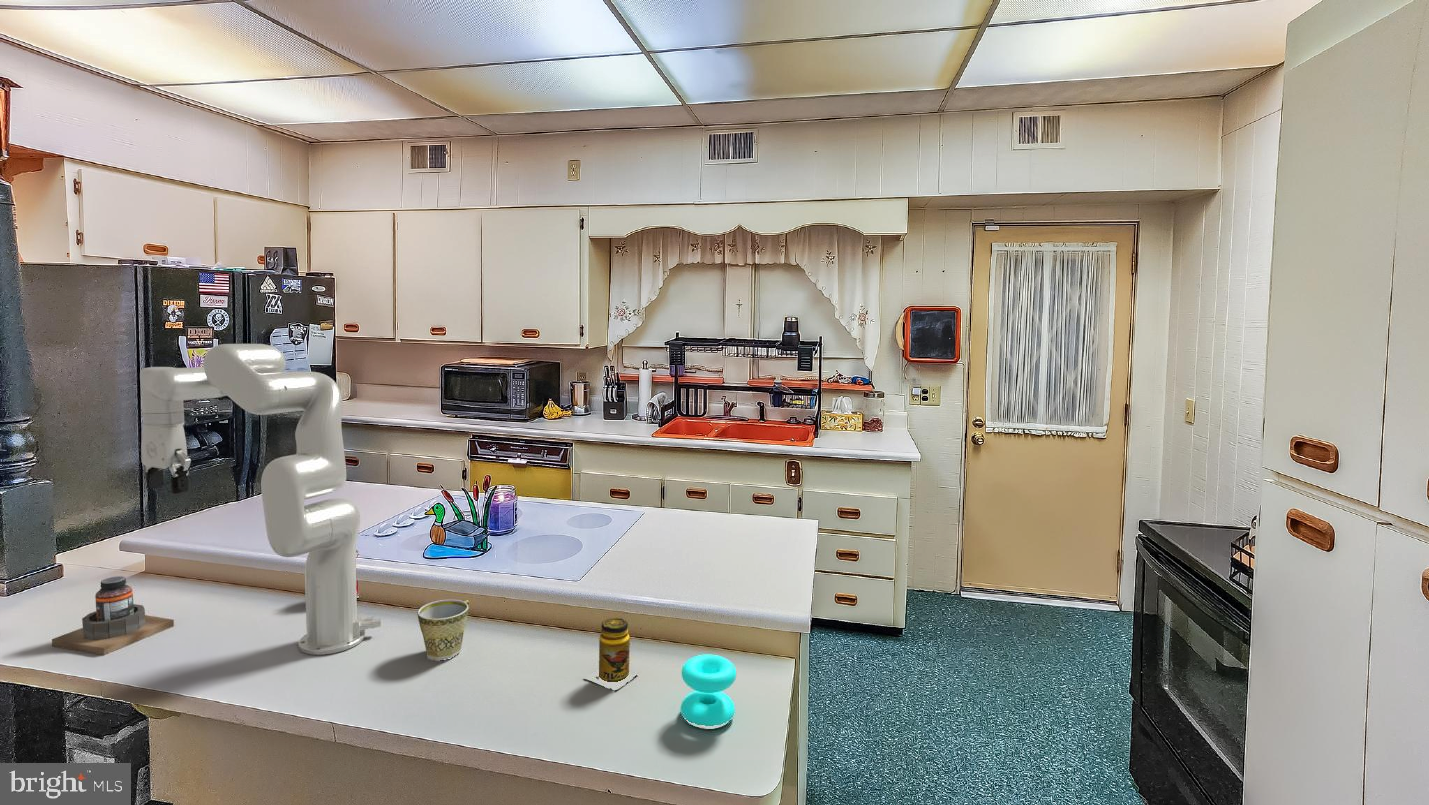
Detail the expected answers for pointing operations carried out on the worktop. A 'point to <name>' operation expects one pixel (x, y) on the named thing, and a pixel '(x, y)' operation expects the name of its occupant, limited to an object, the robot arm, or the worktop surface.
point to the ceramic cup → (443, 627)
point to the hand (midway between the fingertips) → (167, 489)
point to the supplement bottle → (114, 599)
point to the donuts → (708, 690)
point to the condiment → (614, 650)
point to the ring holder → (112, 632)
